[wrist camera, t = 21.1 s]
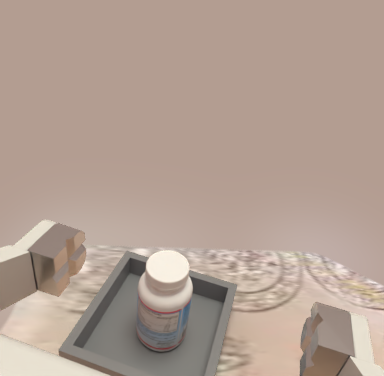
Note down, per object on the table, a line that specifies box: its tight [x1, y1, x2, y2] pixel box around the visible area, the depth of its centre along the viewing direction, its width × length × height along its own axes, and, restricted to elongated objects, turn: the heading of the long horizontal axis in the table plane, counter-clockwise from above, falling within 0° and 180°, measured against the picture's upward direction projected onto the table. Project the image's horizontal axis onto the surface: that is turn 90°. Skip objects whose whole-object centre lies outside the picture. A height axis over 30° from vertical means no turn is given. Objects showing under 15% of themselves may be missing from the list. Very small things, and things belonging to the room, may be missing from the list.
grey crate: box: [59, 251, 237, 376], centre depth 42 cm, size 16×16×4 cm
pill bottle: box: [136, 250, 193, 352], centre depth 40 cm, size 6×6×11 cm
